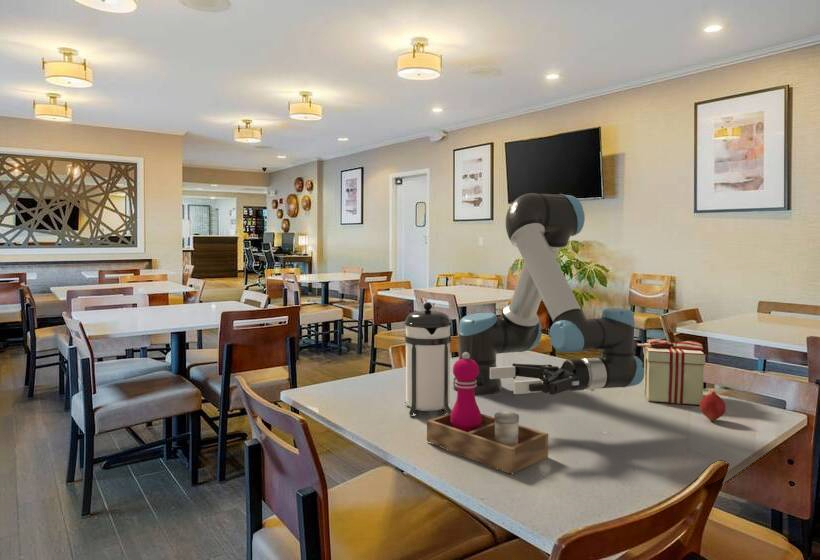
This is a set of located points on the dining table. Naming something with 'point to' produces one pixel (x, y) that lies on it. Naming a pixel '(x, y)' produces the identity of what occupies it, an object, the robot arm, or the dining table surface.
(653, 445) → the dining table surface
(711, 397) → the onion
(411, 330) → the coffee press
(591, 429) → the dining table surface
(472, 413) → the pepper mill
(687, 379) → the gift box
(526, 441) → the caddy
